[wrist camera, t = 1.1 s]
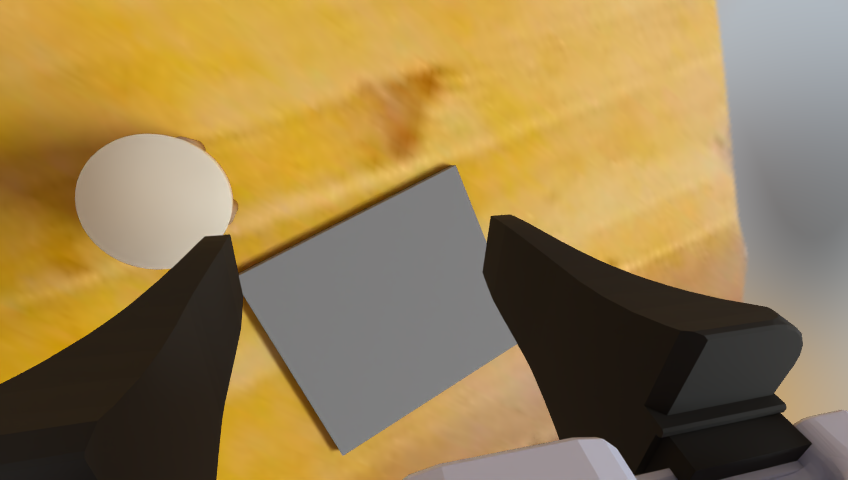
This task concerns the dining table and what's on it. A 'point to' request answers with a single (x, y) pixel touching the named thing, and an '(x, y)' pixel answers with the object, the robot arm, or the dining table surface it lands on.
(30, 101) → the dining table surface
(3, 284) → the dining table surface
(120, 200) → the stool
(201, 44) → the dining table surface
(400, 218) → the mat
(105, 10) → the dining table surface
